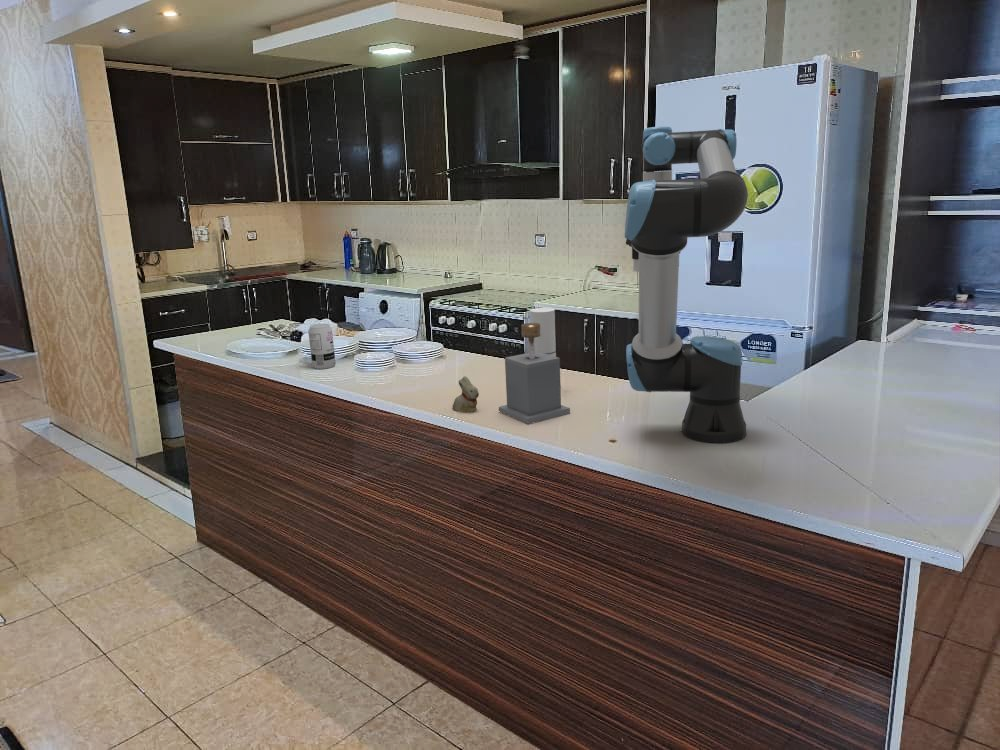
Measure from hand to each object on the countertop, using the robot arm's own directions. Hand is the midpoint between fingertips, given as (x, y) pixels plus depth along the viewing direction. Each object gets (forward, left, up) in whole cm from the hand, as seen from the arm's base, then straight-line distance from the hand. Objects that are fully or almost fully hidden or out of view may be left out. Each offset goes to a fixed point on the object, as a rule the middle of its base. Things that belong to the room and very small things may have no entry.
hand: (656, 269), depth 200 cm
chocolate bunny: (+27, +47, -37) cm, 66 cm away
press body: (+12, +34, -37) cm, 51 cm away
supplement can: (+106, +60, -37) cm, 127 cm away
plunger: (+12, +34, -32) cm, 48 cm away
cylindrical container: (+26, +20, -37) cm, 49 cm away
